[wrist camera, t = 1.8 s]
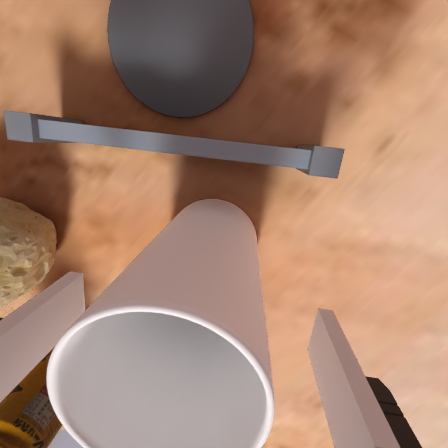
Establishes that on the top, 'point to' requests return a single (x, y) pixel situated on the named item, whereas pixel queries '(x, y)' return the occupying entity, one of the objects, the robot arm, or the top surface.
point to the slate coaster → (181, 51)
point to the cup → (173, 344)
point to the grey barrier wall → (171, 143)
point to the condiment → (29, 412)
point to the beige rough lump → (23, 249)
